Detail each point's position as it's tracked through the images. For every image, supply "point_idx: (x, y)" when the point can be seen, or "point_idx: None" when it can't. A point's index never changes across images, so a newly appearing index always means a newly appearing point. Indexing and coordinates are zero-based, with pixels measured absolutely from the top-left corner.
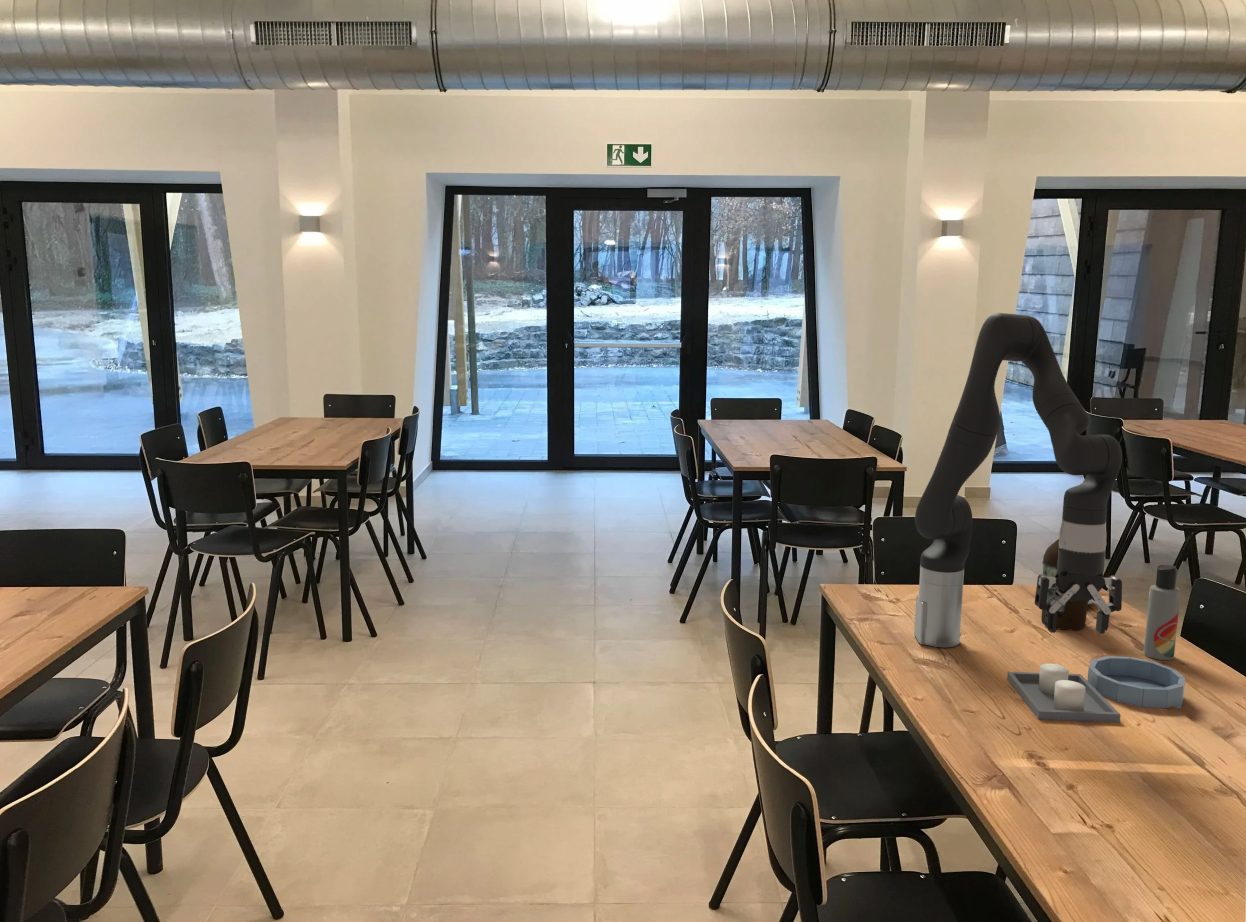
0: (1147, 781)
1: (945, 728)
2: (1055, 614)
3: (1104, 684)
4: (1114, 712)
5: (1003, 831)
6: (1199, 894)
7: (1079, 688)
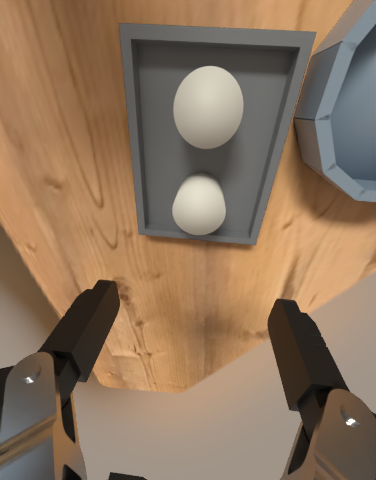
0: (207, 321)
1: (29, 232)
2: (81, 378)
3: (311, 139)
4: (250, 239)
5: None
6: (171, 387)
7: (210, 224)
